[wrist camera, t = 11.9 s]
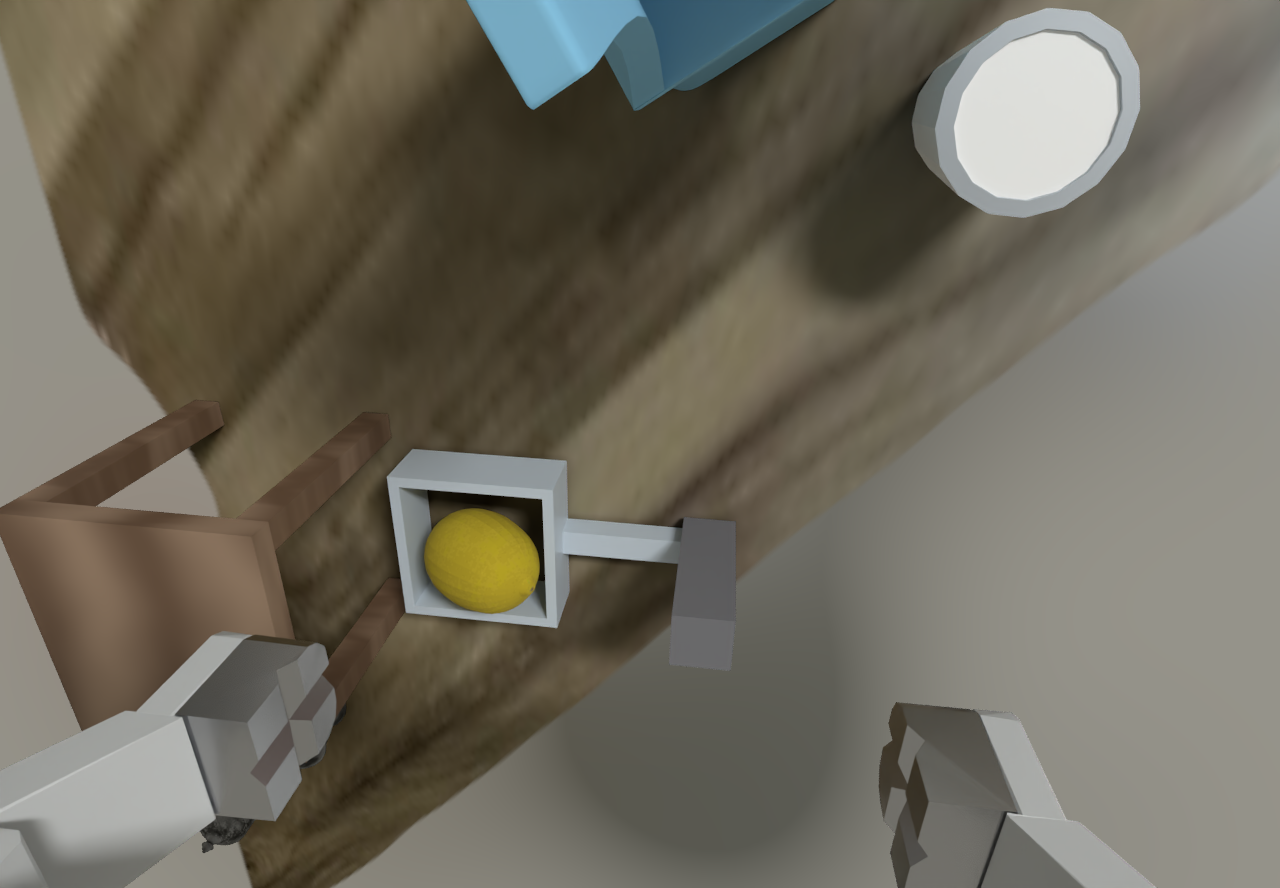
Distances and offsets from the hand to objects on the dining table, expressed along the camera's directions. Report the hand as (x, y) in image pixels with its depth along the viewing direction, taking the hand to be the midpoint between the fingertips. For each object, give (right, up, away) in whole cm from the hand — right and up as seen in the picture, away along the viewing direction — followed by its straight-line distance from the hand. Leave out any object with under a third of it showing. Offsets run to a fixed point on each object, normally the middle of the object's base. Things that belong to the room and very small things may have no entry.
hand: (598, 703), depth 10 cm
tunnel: (-20, 0, +35) cm, 40 cm away
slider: (-3, -1, +33) cm, 33 cm away
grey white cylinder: (+16, +18, +22) cm, 33 cm away
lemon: (-12, -1, +33) cm, 35 cm away
